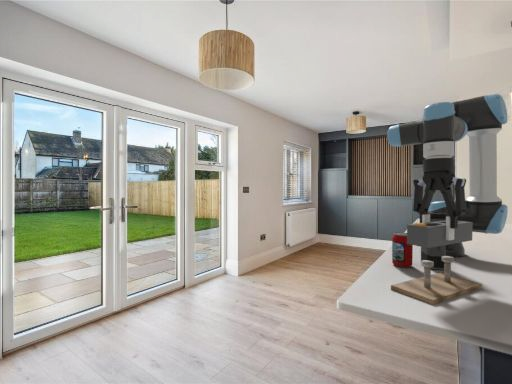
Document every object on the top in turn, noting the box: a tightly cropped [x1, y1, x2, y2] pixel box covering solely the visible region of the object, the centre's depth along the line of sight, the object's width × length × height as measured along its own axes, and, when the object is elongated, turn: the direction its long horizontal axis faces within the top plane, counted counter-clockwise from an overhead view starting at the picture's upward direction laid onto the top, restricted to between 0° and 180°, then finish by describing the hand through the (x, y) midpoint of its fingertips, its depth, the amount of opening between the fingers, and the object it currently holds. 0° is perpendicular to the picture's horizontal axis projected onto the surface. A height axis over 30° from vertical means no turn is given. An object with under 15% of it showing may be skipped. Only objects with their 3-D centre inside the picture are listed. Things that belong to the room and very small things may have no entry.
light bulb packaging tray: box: [406, 221, 473, 248], centre depth 83 cm, size 22×6×6 cm, turn 117°
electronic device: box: [420, 210, 446, 271], centre depth 104 cm, size 9×6×20 cm, turn 168°
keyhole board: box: [390, 256, 483, 305], centre depth 82 cm, size 24×12×8 cm, turn 118°
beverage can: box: [391, 232, 414, 268], centre depth 106 cm, size 7×7×12 cm
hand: (437, 237), depth 82 cm, fingers closed on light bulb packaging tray, 6 cm apart
